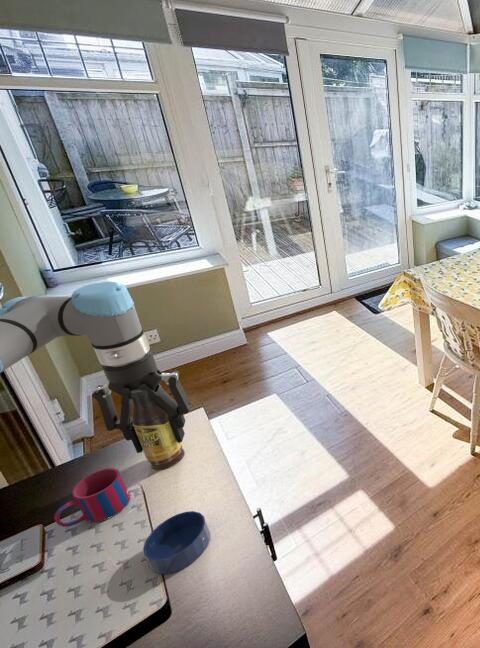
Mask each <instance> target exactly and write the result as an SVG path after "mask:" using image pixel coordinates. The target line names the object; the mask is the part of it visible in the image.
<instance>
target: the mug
mask: <svg viewBox="0 0 480 648" xmlns="http://www.w3.org/2000/svg"><path fill="white" fill-rule="evenodd" d="M71 492H72V493H71V495H72V497H73V500H70V501H68V502H66V503H64V504H63V505H62V506H60V507H59V508H58V509H57V510H56V512H55V513H54V517H53V519H54V521H55V523H56V524H57V525H58V526H61V527H64V528H69V527H72V526H76V525H78V524H80V523H82V522H84V521H87V522H89V521H91V522H90V523H99V522H98V521H100V522H102V521H101V520H104V519H106V520H108V519H107V518H108V517H111V516H113V515H114V516H116V515H118V514H119V513H120V512H122V511H123V510H124V509H125V508H126V507H127V506H128V504H129V503H130V501H131V498H130V496H131V493H130V492H129V489H128V487H127V485H126V483H125V481H124V479H123V477H122V474H121V472H120V471H119V470H118V468H114V467H108V468H102V469H99V470H97V471H94V472H93V473H90V474H89V475H87V476H85V477H84V478H82V479H81V480H79V482H78V483H77V484H76V485H75V486H74V487H73V489H72V491H71ZM129 500H130V501H129ZM128 502H129V503H128ZM127 503H128V504H127ZM75 505H76V506H78V508H79V510H80V511H81V514H82V515H81V516H80V517H78V518H77V519H74V520H71V521H68V522H62V521H61V518H60V517H61V514H62V513H63V512H64V510H66V509H67V508H70V507H72V506H75ZM125 506H126V507H125ZM124 507H125V508H124ZM123 508H124V509H123ZM122 509H123V510H122ZM118 512H119V513H118ZM117 513H118V514H117ZM115 514H116V515H115ZM114 516H113V517H114ZM111 518H112V517H111ZM104 521H105V520H104Z"/></svg>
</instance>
